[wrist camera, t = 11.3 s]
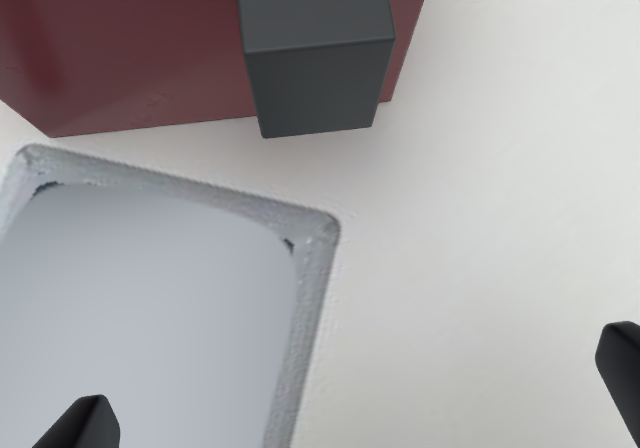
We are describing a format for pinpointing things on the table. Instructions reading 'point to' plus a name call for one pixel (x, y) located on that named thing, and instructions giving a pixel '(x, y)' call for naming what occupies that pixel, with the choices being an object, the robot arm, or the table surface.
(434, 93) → the table surface
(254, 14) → the slider
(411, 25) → the toaster
